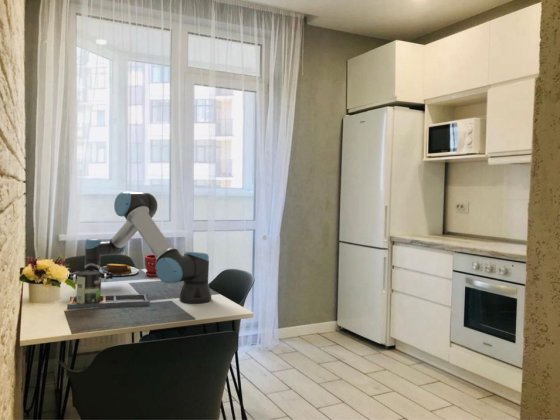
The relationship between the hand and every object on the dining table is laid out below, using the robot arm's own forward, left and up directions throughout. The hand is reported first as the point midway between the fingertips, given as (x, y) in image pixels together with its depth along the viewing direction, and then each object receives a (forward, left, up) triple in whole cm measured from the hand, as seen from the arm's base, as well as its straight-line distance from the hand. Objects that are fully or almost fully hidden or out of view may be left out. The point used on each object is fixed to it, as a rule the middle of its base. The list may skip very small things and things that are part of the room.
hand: (89, 279), depth 221 cm
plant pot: (+19, -65, -10) cm, 69 cm away
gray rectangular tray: (-13, 0, -9) cm, 16 cm away
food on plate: (+42, -56, -10) cm, 71 cm away
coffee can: (-7, +6, -9) cm, 13 cm away
